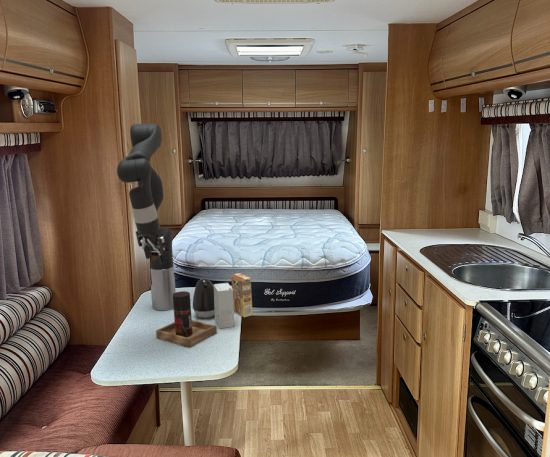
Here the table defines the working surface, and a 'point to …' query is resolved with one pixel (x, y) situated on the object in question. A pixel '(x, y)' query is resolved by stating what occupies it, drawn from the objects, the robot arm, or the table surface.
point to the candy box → (242, 294)
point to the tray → (199, 334)
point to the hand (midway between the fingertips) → (156, 260)
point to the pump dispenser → (204, 299)
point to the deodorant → (182, 314)
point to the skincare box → (223, 305)
